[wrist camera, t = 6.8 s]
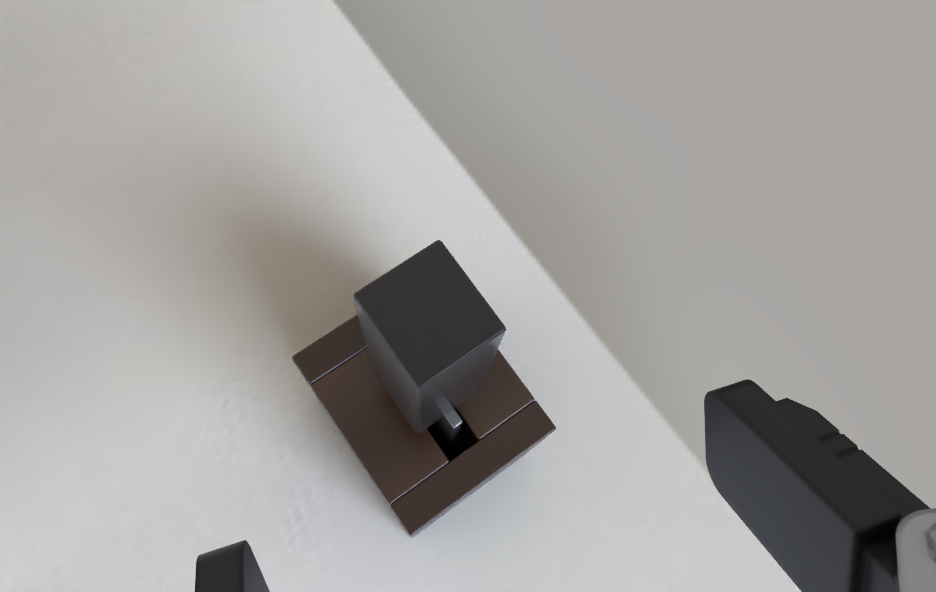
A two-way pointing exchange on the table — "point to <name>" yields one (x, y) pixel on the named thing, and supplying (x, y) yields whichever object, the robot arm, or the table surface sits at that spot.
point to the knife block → (418, 455)
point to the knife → (429, 339)
